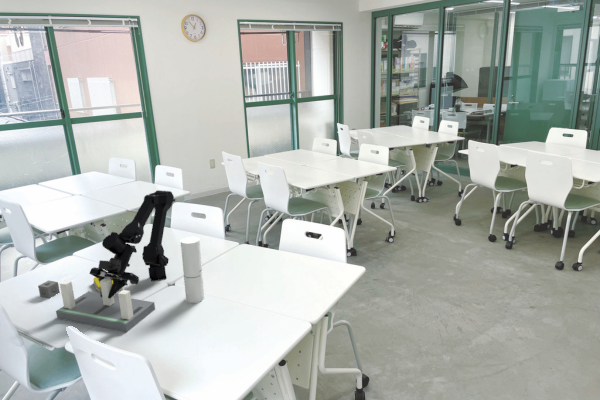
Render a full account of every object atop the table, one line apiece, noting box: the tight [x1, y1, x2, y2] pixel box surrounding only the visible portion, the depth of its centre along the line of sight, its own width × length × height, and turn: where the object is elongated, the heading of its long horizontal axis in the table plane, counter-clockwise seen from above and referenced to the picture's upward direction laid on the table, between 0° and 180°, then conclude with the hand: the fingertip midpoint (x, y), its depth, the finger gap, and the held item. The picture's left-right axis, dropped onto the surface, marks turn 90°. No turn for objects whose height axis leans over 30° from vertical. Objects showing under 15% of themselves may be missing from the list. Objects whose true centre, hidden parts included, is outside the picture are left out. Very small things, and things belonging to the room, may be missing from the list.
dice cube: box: [37, 280, 61, 300], centre depth 178 cm, size 5×5×5 cm
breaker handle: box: [100, 278, 115, 306], centre depth 163 cm, size 2×3×10 cm
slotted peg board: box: [55, 280, 156, 333], centre depth 162 cm, size 16×31×13 cm, turn 72°
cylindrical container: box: [180, 236, 205, 304], centre depth 170 cm, size 7×7×25 cm
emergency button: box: [92, 275, 124, 293], centre depth 185 cm, size 9×4×15 cm
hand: (105, 297), depth 162 cm, fingers closed on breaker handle, 3 cm apart
